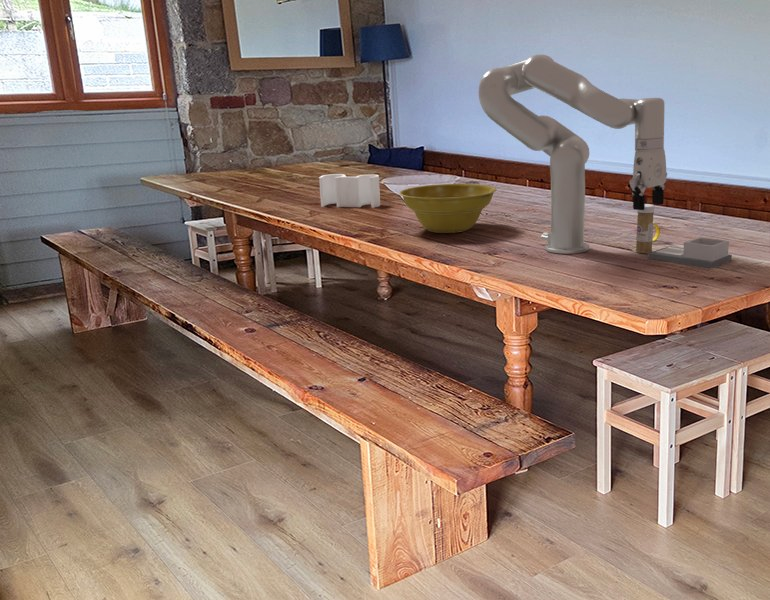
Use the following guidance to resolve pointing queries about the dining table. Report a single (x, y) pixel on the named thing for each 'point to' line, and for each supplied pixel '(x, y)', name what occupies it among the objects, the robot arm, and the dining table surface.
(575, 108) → the robot arm
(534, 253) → the dining table surface
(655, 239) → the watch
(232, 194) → the dining table surface
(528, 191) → the dining table surface
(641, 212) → the sprinkles bottle
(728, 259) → the grey tray with box
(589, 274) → the dining table surface
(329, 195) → the bracket
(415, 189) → the planter bowl
